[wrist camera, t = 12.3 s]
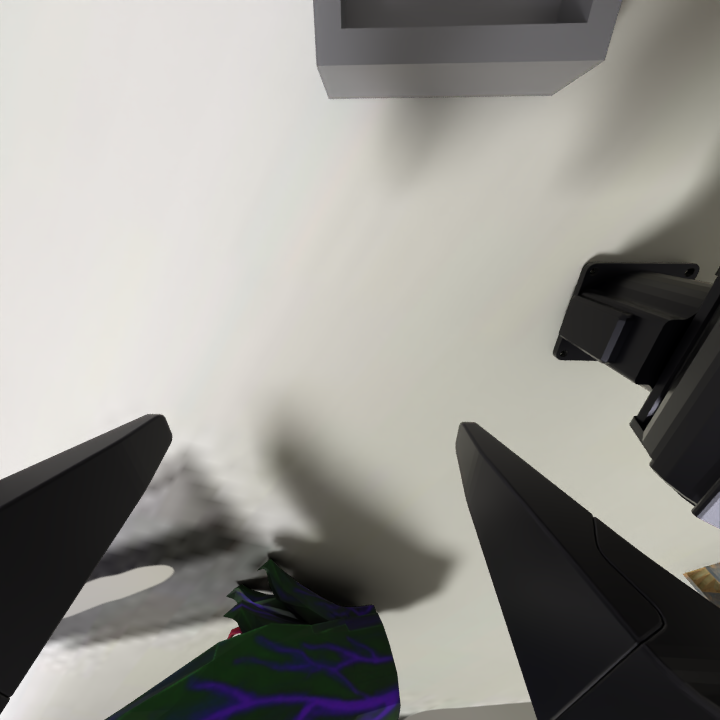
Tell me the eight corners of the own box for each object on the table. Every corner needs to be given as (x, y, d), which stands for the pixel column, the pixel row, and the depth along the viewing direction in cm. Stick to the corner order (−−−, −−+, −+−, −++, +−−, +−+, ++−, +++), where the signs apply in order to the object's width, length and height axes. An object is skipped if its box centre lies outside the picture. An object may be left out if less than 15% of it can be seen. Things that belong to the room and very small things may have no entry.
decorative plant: (347, 552, 49) (145, 572, 39) (423, 541, 30) (59, 576, 20) (356, 740, 37) (69, 836, 27) (492, 927, 18) (-330, 1496, 8)
